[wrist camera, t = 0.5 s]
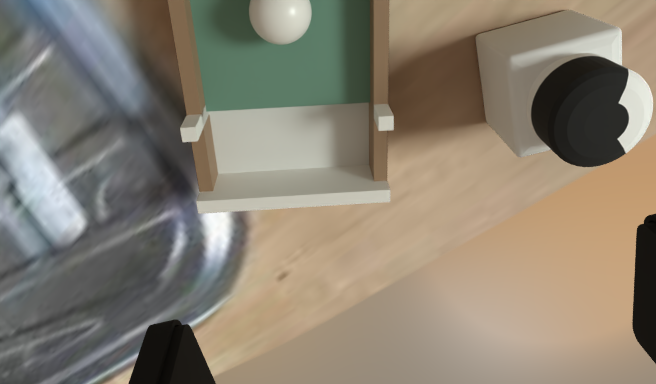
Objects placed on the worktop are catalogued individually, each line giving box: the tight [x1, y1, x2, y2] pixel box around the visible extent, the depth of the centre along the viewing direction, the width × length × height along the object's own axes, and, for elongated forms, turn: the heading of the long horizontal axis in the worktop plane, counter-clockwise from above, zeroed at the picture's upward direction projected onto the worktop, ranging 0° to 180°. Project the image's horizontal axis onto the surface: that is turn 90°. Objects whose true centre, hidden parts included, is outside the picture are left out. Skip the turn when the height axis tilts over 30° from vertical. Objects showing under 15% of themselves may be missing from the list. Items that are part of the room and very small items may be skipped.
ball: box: [249, 0, 312, 45], centre depth 35 cm, size 4×4×4 cm
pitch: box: [167, 0, 394, 214], centre depth 36 cm, size 23×14×6 cm, turn 2°
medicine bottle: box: [476, 10, 653, 167], centre depth 36 cm, size 7×7×12 cm
